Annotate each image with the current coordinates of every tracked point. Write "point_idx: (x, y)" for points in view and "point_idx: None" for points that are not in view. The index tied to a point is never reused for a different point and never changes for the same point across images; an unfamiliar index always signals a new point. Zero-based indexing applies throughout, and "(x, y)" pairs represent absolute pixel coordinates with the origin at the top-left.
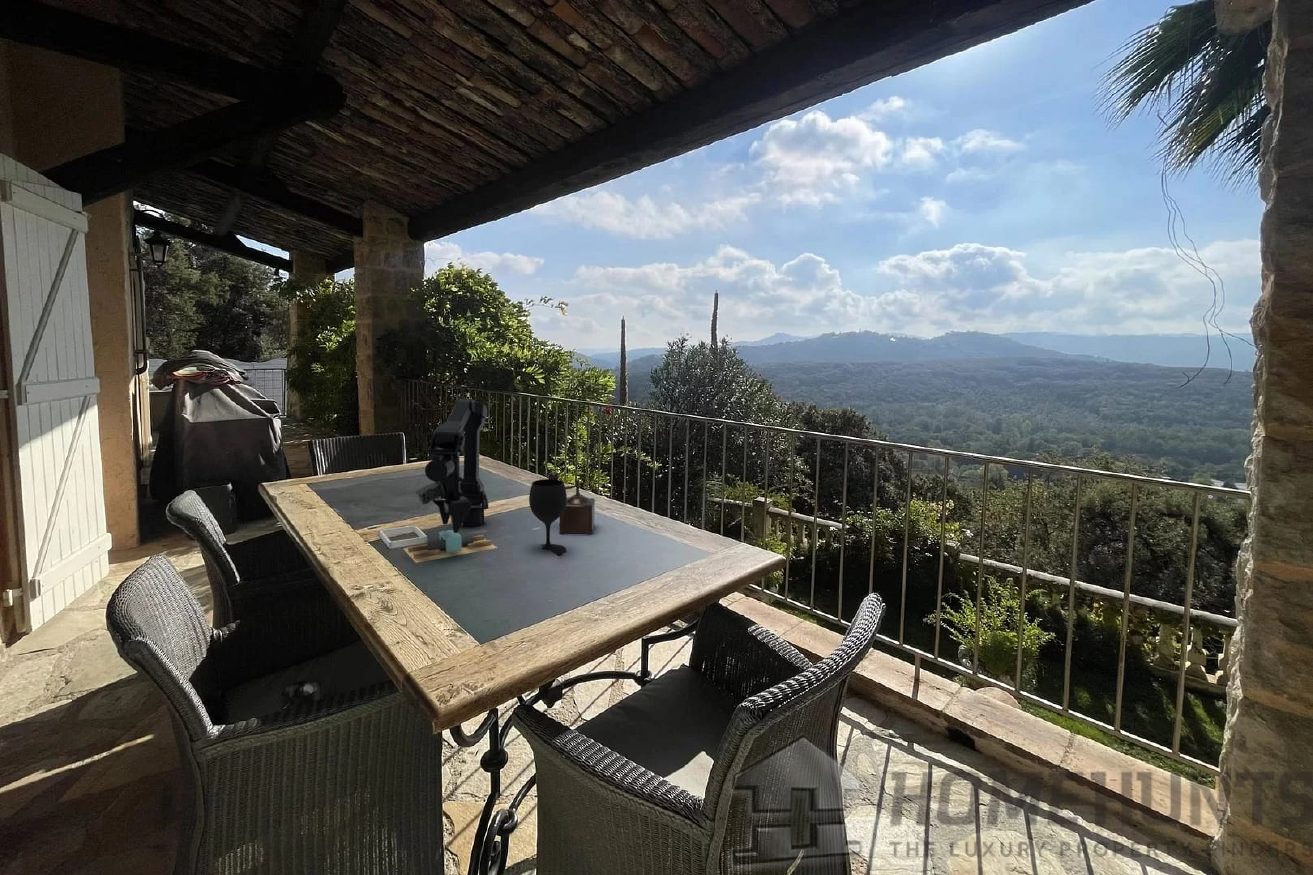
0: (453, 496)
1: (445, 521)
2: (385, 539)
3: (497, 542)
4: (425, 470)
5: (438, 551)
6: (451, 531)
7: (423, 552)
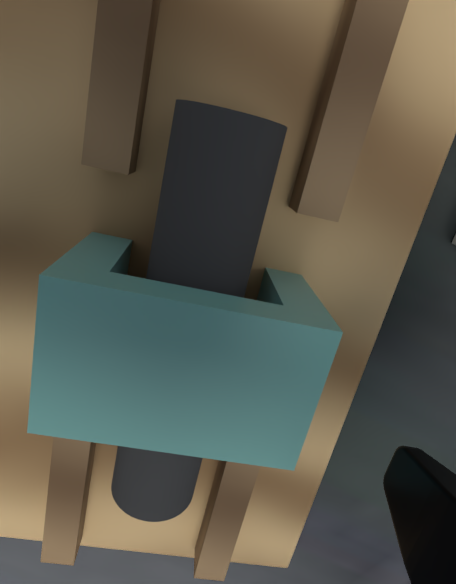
0: None
1: (407, 495)
2: None
3: (147, 575)
4: None
5: (84, 149)
6: (249, 426)
7: None
